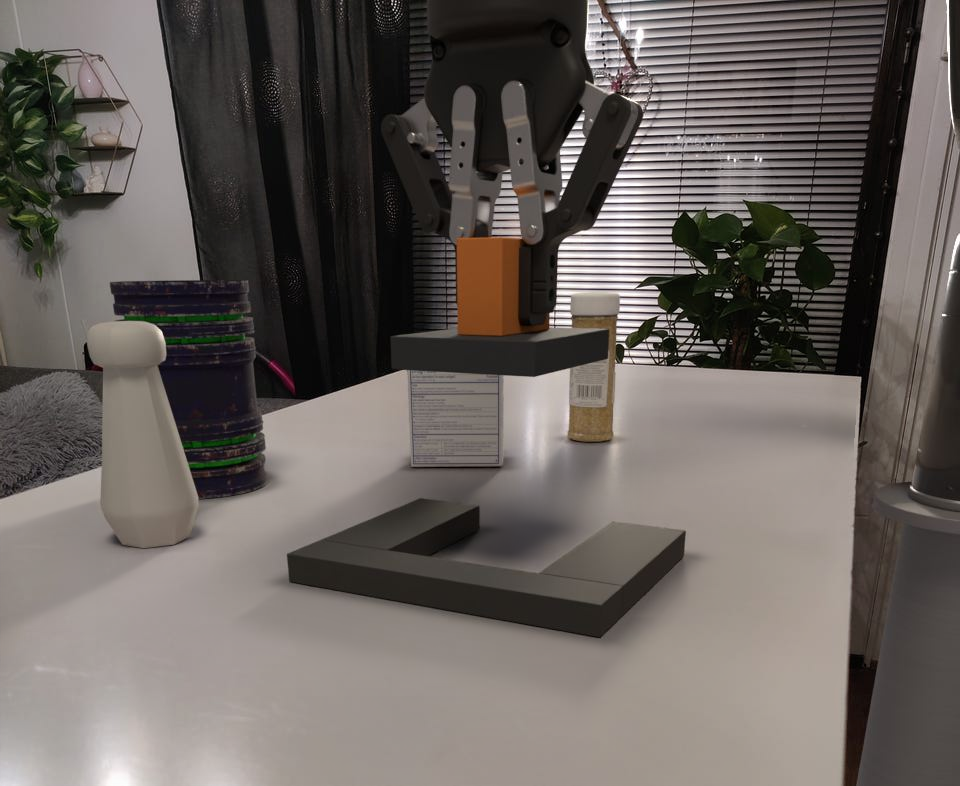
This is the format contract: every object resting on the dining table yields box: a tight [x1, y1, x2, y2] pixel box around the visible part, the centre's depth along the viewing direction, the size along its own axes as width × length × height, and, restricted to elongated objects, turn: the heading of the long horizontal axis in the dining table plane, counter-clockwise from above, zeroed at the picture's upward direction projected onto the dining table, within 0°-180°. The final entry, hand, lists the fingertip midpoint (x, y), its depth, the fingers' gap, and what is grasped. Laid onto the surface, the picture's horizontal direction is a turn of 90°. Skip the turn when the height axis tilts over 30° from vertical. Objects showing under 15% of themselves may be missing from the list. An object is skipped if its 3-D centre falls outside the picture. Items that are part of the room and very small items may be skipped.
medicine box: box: [406, 370, 505, 468], centre depth 77 cm, size 8×4×9 cm, turn 88°
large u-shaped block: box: [286, 497, 687, 638], centre depth 51 cm, size 14×18×2 cm
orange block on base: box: [389, 236, 609, 378], centre depth 47 cm, size 10×8×6 cm
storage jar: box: [109, 279, 268, 500], centre depth 69 cm, size 10×10×15 cm
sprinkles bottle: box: [567, 291, 621, 443], centre depth 86 cm, size 5×5×14 cm
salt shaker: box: [86, 320, 199, 549], centre depth 55 cm, size 6×6×13 cm
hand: (504, 322), depth 47 cm, fingers closed on orange block on base, 2 cm apart
